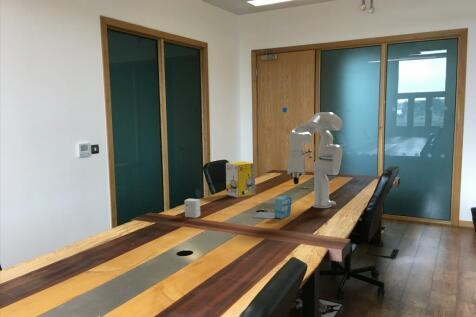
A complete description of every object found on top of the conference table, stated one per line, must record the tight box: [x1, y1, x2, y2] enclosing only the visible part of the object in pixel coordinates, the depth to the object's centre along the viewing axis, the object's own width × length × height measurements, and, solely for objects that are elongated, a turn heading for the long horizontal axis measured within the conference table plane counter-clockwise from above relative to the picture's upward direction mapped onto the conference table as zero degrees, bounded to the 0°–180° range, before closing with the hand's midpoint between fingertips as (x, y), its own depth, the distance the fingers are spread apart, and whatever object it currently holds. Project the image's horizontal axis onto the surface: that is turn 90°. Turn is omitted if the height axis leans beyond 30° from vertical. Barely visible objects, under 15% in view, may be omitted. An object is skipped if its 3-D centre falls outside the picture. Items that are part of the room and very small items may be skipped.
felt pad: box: [252, 211, 276, 220], centre depth 246 cm, size 13×14×1 cm
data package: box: [273, 195, 293, 219], centre depth 242 cm, size 12×4×12 cm, turn 142°
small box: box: [183, 198, 201, 218], centre depth 246 cm, size 8×6×10 cm
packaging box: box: [225, 160, 256, 199], centre depth 310 cm, size 16×16×25 cm
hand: (296, 183), depth 238 cm, fingers closed
